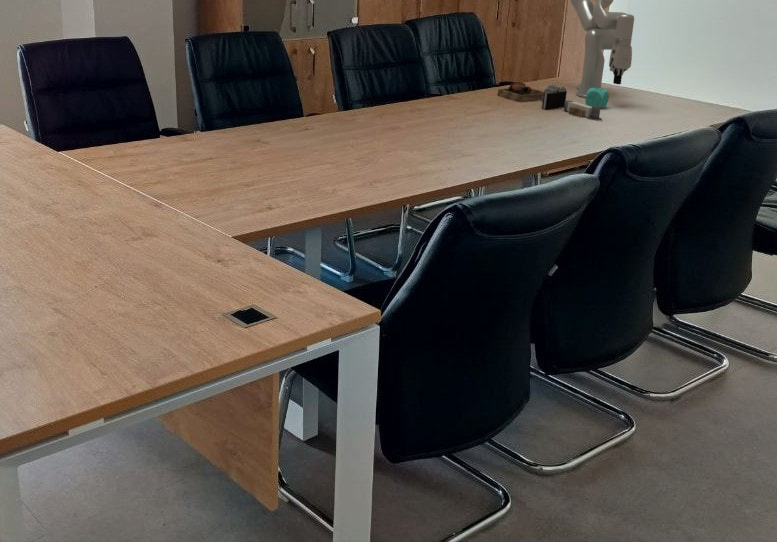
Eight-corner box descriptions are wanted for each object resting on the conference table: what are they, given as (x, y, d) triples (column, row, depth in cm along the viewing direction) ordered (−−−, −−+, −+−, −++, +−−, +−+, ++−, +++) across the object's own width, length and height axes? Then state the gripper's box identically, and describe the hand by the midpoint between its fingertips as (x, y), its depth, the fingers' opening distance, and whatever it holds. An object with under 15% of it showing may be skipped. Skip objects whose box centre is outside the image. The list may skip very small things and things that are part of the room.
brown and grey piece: (568, 113, 396) (570, 101, 394) (579, 112, 400) (581, 100, 398) (593, 121, 385) (595, 108, 383) (604, 119, 388) (606, 107, 386)
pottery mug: (503, 99, 422) (504, 82, 423) (512, 105, 430) (513, 89, 431) (527, 96, 415) (528, 79, 417) (535, 103, 423) (537, 86, 424)
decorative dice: (584, 107, 413) (586, 89, 410) (590, 104, 419) (593, 87, 416) (600, 109, 409) (603, 92, 406) (607, 107, 415) (609, 89, 412)
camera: (554, 104, 415) (557, 82, 411) (566, 107, 410) (569, 84, 407) (534, 107, 405) (537, 85, 401) (546, 110, 401) (549, 87, 397)
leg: (593, 116, 392) (594, 107, 390) (587, 117, 390) (588, 107, 388) (568, 109, 404) (569, 100, 402) (562, 109, 402) (563, 100, 401)
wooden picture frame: (497, 95, 427) (498, 89, 426) (526, 93, 436) (527, 87, 435) (520, 102, 414) (520, 95, 413) (549, 99, 424) (550, 93, 423)
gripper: (617, 44, 402) (611, 85, 409) (640, 43, 410) (634, 84, 416) (604, 42, 408) (599, 83, 414) (627, 41, 416) (622, 81, 422)
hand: (616, 83), depth 415 cm, fingers closed
